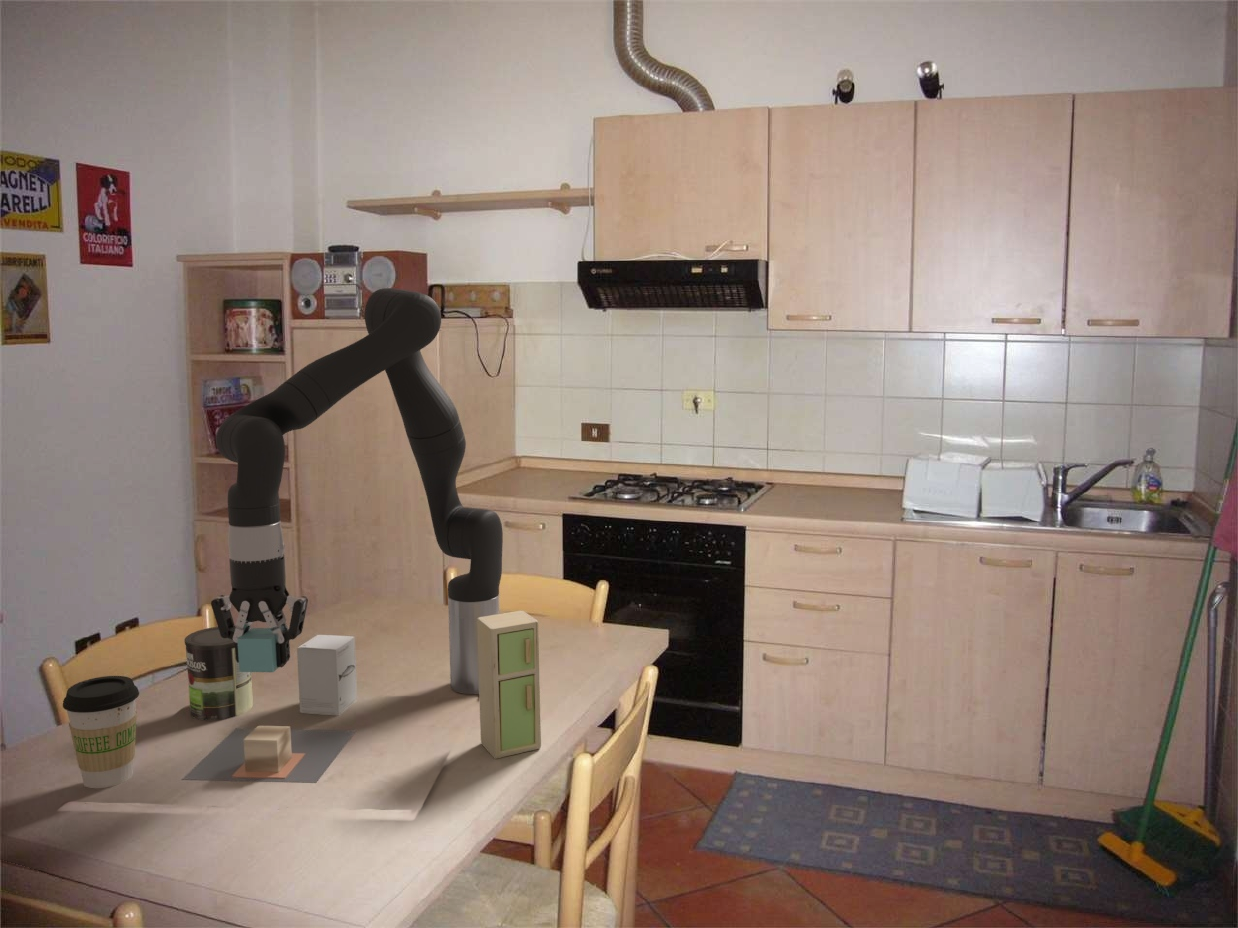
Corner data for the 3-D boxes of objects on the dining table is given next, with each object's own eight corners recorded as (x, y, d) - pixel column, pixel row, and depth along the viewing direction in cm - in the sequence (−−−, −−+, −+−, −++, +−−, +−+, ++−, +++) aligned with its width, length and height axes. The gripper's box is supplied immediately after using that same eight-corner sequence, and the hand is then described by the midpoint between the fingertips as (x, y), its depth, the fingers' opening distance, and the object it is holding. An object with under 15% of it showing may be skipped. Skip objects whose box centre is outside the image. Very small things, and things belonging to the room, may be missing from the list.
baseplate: (356, 736, 160) (356, 729, 160) (316, 788, 143) (316, 781, 142) (236, 733, 162) (235, 727, 161) (182, 785, 144) (181, 778, 144)
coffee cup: (95, 806, 138) (86, 704, 135) (56, 789, 143) (47, 690, 141) (160, 778, 146) (152, 682, 144) (121, 763, 151) (113, 669, 149)
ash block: (278, 772, 145) (276, 740, 145) (245, 771, 146) (243, 739, 145) (291, 757, 150) (290, 726, 150) (259, 756, 151) (258, 725, 150)
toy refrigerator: (495, 761, 151) (492, 629, 148) (479, 743, 158) (476, 616, 154) (543, 751, 155) (541, 621, 152) (525, 733, 161) (523, 609, 158)
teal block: (286, 660, 148) (284, 628, 147) (273, 672, 143) (271, 639, 142) (254, 659, 148) (252, 627, 148) (239, 671, 143) (237, 638, 143)
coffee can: (207, 731, 163) (201, 649, 160) (179, 714, 170) (173, 635, 167) (265, 713, 170) (260, 634, 168) (237, 697, 177) (232, 621, 175)
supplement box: (339, 721, 166) (335, 649, 165) (298, 718, 168) (294, 646, 166) (359, 704, 174) (355, 635, 172) (320, 701, 175) (316, 633, 173)
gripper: (196, 558, 140) (204, 673, 142) (295, 559, 139) (301, 675, 142) (220, 546, 147) (227, 655, 150) (314, 547, 146) (320, 657, 149)
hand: (263, 664), depth 146 cm, fingers closed on teal block, 5 cm apart
